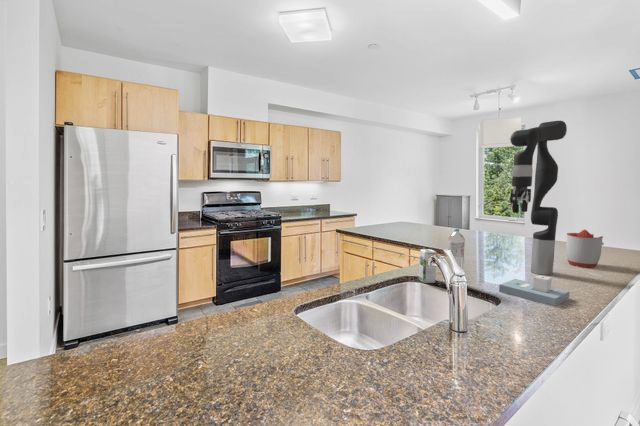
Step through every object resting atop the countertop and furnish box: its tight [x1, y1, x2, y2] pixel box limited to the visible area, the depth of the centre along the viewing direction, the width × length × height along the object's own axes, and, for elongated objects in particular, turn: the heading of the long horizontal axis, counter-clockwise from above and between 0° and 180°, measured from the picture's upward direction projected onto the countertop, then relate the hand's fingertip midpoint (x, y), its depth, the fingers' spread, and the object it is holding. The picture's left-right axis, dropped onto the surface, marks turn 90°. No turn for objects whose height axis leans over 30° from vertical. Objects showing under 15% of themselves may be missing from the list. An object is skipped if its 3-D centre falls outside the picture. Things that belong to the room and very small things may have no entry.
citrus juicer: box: [565, 229, 604, 268], centre depth 180 cm, size 16×17×20 cm
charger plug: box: [532, 274, 553, 293], centre depth 130 cm, size 5×5×8 cm
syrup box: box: [418, 248, 437, 284], centre depth 150 cm, size 6×6×14 cm
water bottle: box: [447, 228, 466, 271], centre depth 145 cm, size 7×7×25 cm
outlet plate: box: [498, 278, 570, 307], centre depth 133 cm, size 14×20×3 cm
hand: (519, 212), depth 146 cm, fingers open, 8 cm apart
